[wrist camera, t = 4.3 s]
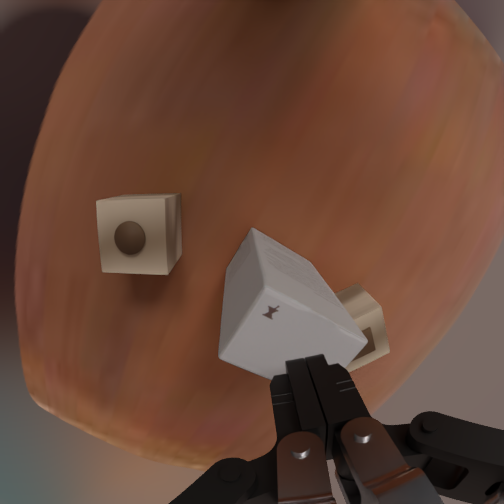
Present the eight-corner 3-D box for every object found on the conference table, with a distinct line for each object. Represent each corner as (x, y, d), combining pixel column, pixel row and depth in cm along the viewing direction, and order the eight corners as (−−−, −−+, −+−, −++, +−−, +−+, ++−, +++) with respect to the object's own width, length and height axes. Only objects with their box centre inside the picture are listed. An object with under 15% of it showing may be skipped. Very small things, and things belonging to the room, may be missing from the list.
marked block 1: (124, 194, 21) (94, 201, 16) (181, 193, 21) (163, 198, 16) (127, 252, 22) (100, 273, 17) (182, 254, 23) (166, 276, 18)
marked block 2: (307, 305, 24) (323, 336, 19) (357, 282, 24) (382, 307, 19) (322, 345, 26) (338, 379, 21) (368, 324, 25) (391, 353, 20)
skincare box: (224, 269, 23) (212, 358, 12) (251, 225, 22) (264, 281, 11) (285, 302, 24) (319, 400, 13) (313, 262, 23) (373, 339, 12)
